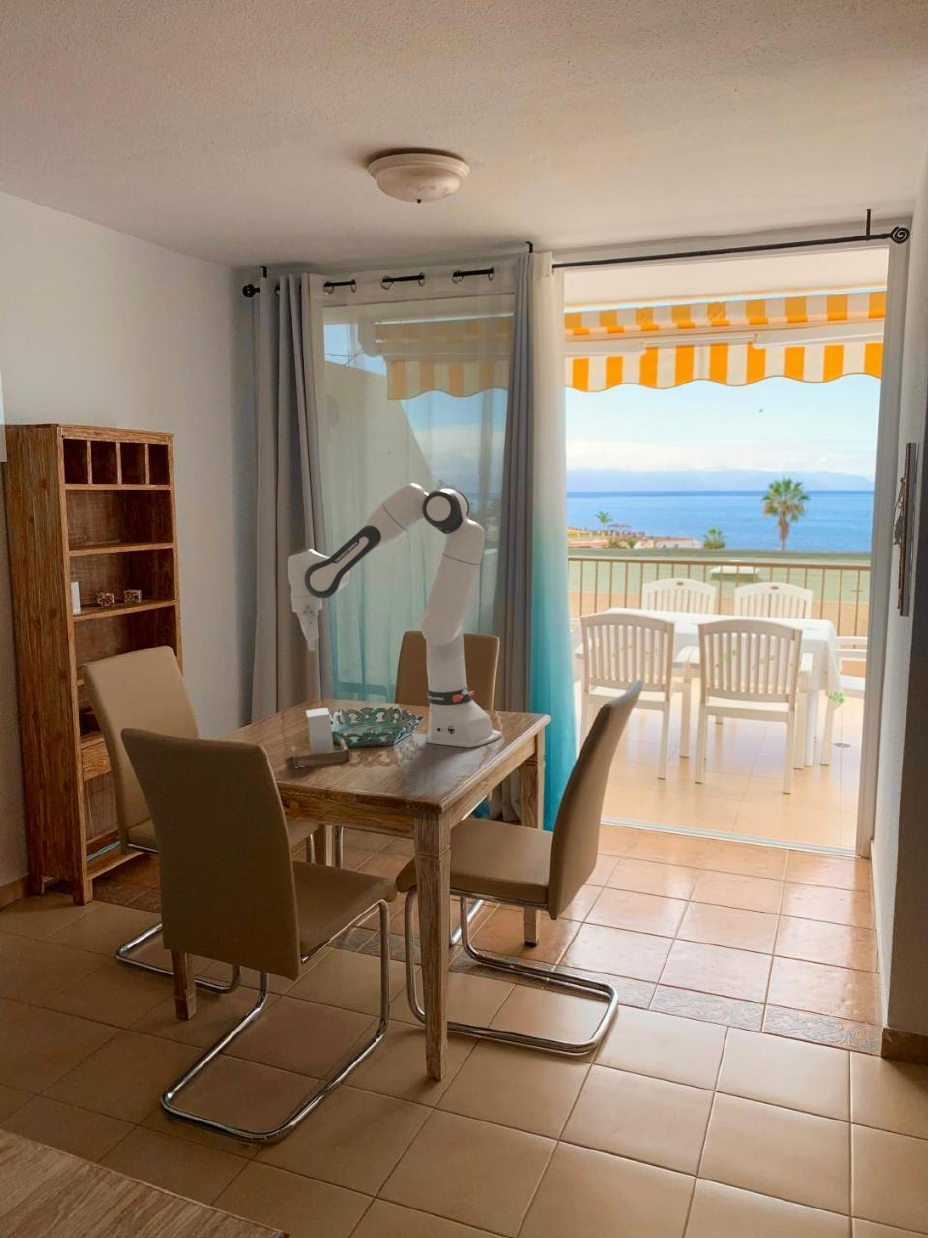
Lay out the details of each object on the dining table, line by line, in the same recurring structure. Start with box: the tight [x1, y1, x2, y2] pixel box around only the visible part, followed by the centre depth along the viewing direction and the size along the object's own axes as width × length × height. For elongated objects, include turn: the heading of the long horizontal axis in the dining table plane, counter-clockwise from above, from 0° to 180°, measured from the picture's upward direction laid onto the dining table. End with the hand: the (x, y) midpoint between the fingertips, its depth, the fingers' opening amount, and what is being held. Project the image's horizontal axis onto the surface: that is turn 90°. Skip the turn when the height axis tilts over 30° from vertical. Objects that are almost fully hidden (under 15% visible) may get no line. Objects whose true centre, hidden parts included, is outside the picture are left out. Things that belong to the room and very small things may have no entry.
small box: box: [305, 707, 335, 755], centre depth 270 cm, size 8×6×13 cm
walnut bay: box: [290, 737, 350, 768], centre depth 270 cm, size 12×15×3 cm
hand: (311, 650), depth 286 cm, fingers closed
